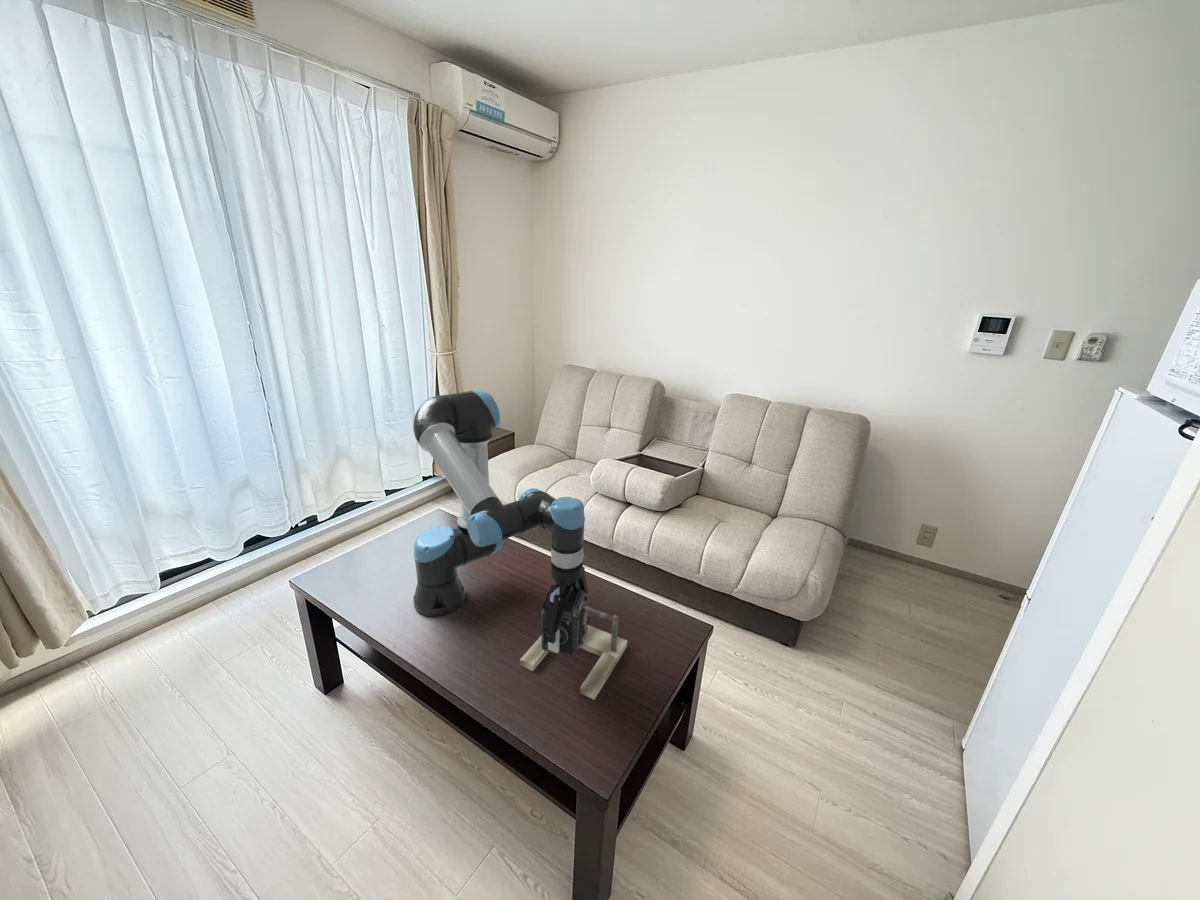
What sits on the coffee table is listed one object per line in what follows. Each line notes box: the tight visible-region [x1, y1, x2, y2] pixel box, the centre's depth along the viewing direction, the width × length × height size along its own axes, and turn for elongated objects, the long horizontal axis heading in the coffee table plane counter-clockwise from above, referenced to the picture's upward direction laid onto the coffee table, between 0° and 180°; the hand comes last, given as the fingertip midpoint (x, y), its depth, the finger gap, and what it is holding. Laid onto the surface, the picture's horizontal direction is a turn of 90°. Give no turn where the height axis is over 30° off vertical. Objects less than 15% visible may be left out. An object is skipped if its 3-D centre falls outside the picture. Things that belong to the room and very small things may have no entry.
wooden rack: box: [519, 605, 628, 701], centre depth 123 cm, size 22×20×13 cm
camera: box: [541, 584, 590, 657], centre depth 115 cm, size 10×10×15 cm
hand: (565, 635), depth 116 cm, fingers closed on camera, 11 cm apart
